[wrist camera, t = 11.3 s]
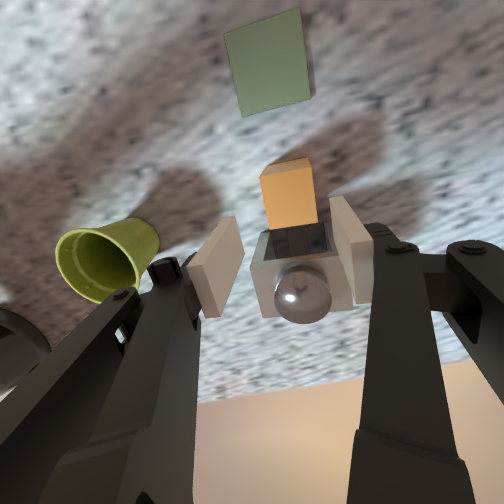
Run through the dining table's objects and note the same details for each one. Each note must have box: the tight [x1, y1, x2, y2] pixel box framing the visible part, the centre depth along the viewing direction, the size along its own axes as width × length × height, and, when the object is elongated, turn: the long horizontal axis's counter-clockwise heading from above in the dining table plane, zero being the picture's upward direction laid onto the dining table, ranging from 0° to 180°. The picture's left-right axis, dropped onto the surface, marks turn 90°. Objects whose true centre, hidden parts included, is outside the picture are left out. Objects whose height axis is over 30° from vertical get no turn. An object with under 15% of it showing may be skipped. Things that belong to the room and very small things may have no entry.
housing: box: [250, 221, 353, 324], centre depth 28 cm, size 9×6×11 cm
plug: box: [259, 158, 318, 257], centre depth 29 cm, size 4×17×7 cm, turn 13°
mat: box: [224, 7, 311, 117], centre depth 25 cm, size 7×7×1 cm
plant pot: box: [55, 218, 160, 304], centre depth 32 cm, size 9×9×9 cm
